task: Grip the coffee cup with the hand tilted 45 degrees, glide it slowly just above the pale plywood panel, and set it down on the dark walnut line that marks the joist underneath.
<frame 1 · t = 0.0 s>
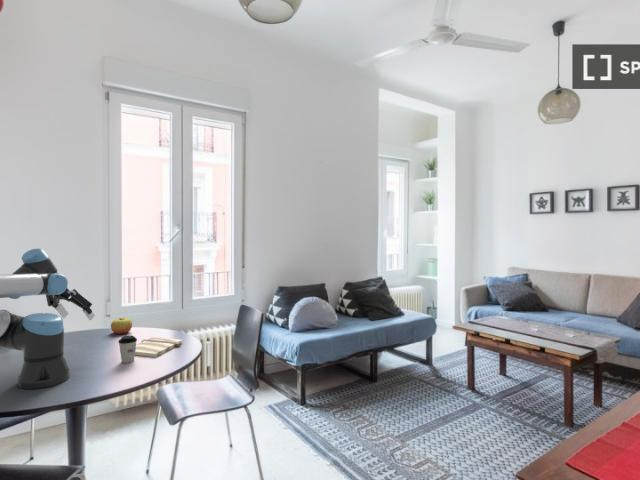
hand: (79, 317, 168), 15 cm above the table, fingers open, 13 cm apart
coffee cup: (127, 361, 158), on the table
subfloor panel: (154, 348, 174), on the table
apple: (121, 333, 197), on the table
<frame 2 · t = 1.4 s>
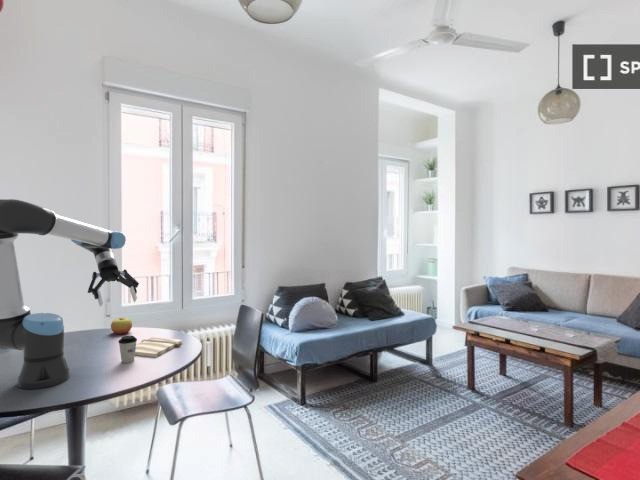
hand: (118, 302, 164), 23 cm above the table, fingers open, 13 cm apart
nothing on the table moved.
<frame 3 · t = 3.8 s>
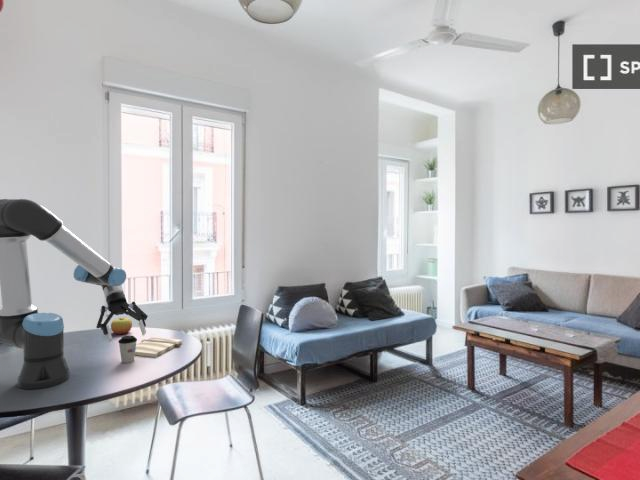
hand: (128, 337, 162), 9 cm above the table, fingers open, 13 cm apart
nothing on the table moved.
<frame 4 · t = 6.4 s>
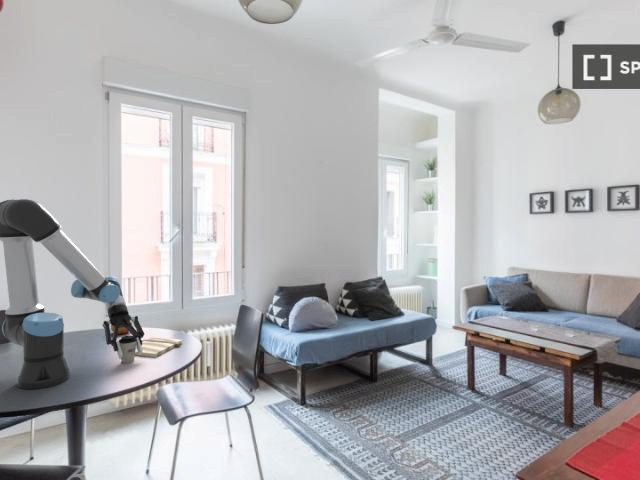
hand: (131, 354, 155), 4 cm above the table, fingers closed on coffee cup, 7 cm apart
coffee cup: (127, 361, 158), on the table, touching gripper
everything else where it was.
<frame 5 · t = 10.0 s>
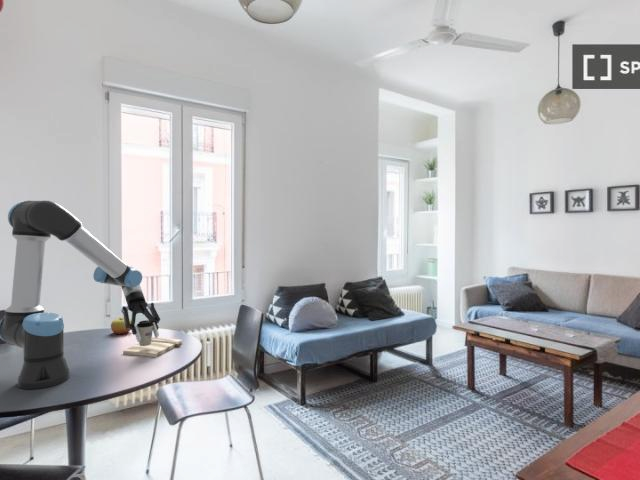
hand: (148, 338, 165), 7 cm above the table, fingers closed on coffee cup, 7 cm apart
coffee cup: (145, 344, 168), point 3 cm above the table, touching gripper
everything else where it was.
when the fingers open (6 cm above the table, at t = 13.5 s): coffee cup stays where it is, resting on subfloor panel.
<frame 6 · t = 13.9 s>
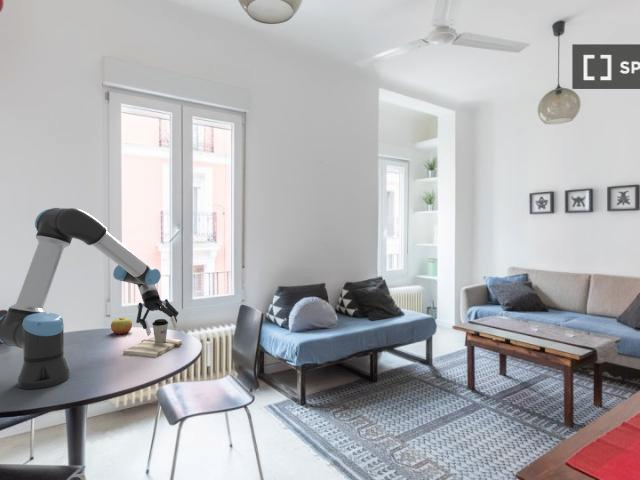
hand: (163, 331, 177), 7 cm above the table, fingers open, 12 cm apart
coffee cup: (160, 341, 179), point 1 cm above the table, touching subfloor panel
everything else where it was.
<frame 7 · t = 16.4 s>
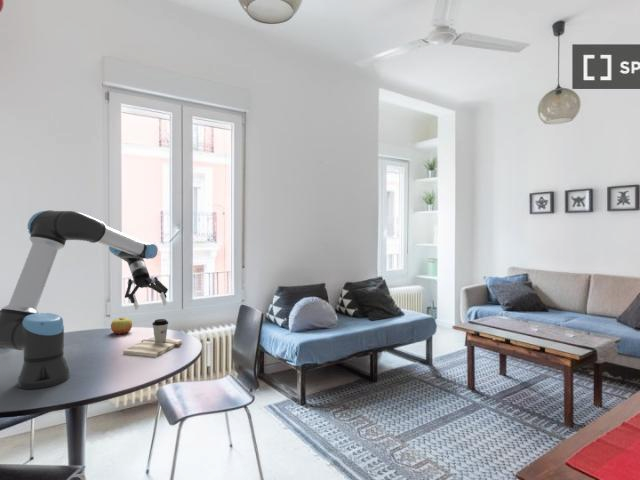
hand: (151, 306, 186), 17 cm above the table, fingers open, 13 cm apart
nothing on the table moved.
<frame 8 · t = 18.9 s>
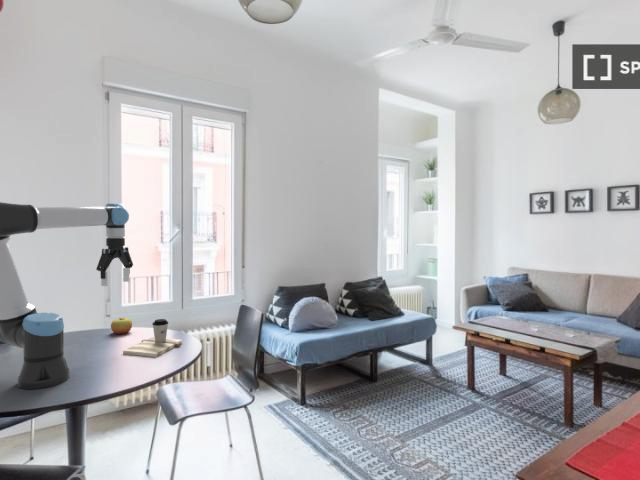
hand: (115, 283, 176), 29 cm above the table, fingers open, 13 cm apart
nothing on the table moved.
at the end: coffee cup inside the target area on the subfloor panel (0.1 cm from its centre), point 1.4 cm above the subfloor panel's base; coffee cup tilted 0°; the gripper is holding nothing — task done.
